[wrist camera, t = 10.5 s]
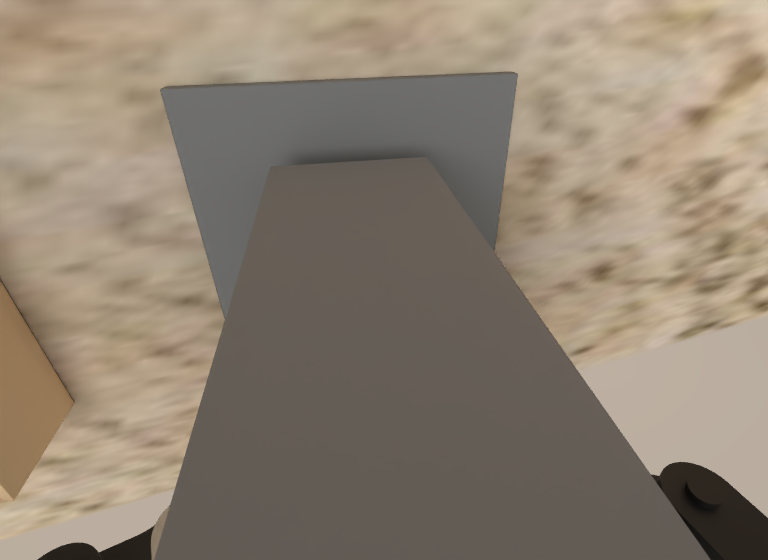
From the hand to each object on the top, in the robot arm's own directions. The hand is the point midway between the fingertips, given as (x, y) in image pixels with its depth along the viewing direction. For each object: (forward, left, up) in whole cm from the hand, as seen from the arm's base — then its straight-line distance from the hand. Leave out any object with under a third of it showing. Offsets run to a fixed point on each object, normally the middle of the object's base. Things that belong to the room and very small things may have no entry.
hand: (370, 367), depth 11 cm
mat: (0, 0, -8) cm, 8 cm away
